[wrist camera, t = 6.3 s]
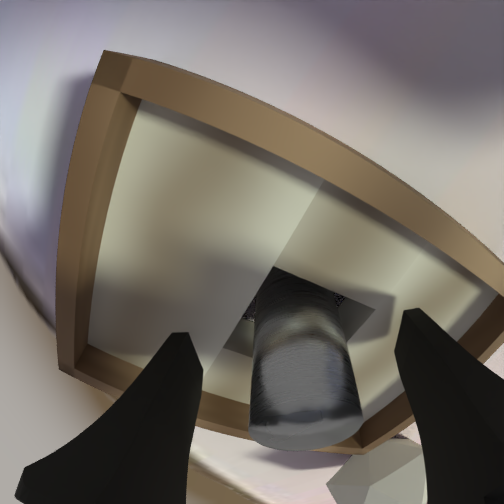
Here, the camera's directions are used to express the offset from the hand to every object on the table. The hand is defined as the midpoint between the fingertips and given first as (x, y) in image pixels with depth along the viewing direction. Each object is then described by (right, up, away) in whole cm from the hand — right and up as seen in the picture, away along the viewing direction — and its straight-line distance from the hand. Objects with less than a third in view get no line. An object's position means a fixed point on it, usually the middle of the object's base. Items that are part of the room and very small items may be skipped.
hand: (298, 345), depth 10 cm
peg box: (0, +1, +2) cm, 3 cm away
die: (+9, -13, +10) cm, 19 cm away
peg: (0, +2, +2) cm, 3 cm away
